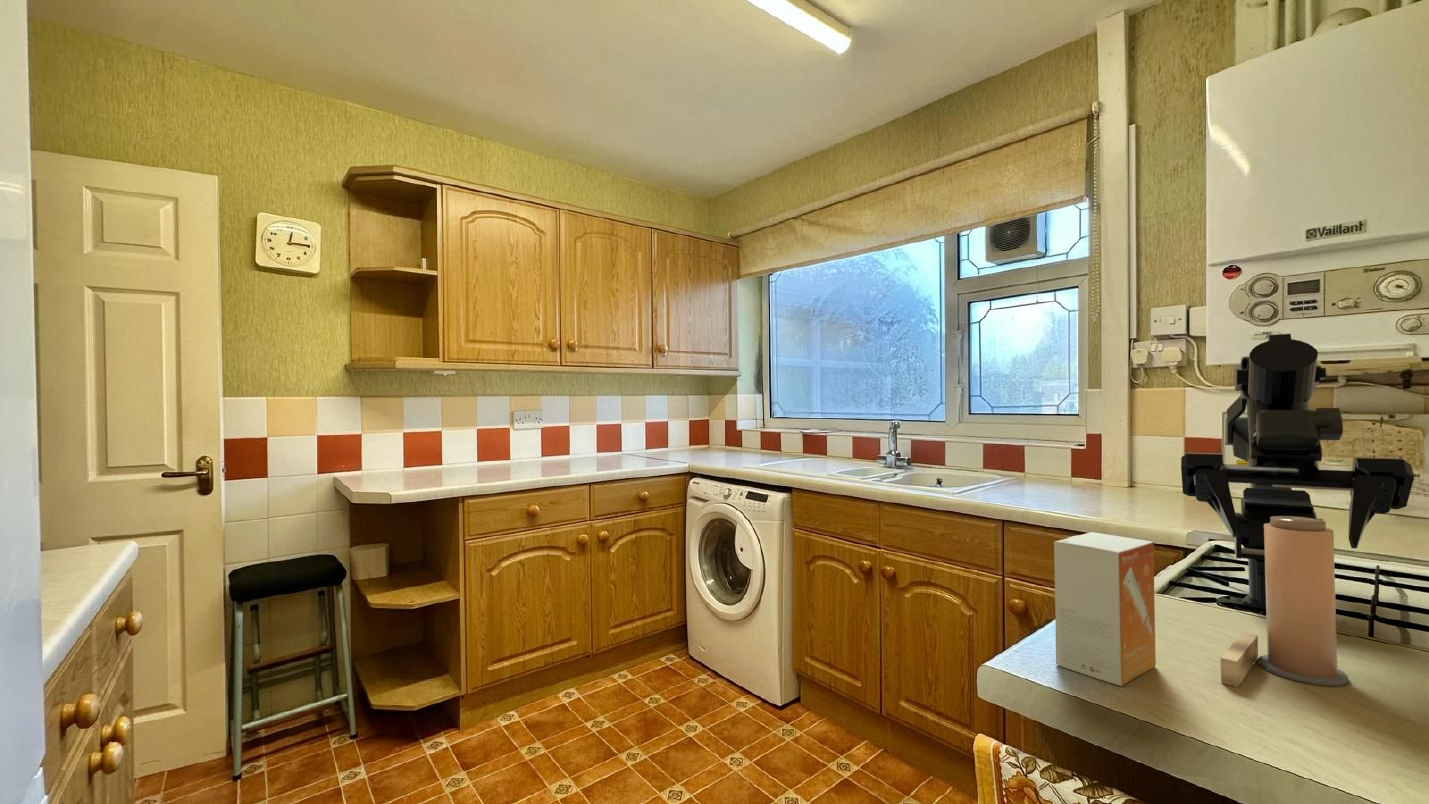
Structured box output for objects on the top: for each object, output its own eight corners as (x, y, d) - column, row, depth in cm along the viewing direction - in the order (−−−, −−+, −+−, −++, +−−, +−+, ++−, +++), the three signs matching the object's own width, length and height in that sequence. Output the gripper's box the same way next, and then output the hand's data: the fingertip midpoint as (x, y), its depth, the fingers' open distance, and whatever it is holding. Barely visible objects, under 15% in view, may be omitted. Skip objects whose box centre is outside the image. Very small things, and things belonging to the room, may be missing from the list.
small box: (1122, 688, 57) (1119, 552, 57) (1054, 665, 62) (1051, 540, 62) (1158, 667, 61) (1155, 540, 61) (1091, 647, 67) (1089, 530, 67)
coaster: (1264, 653, 64) (1264, 649, 64) (1351, 672, 59) (1351, 668, 59) (1252, 670, 60) (1252, 666, 60) (1344, 692, 55) (1344, 688, 55)
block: (1243, 654, 64) (1242, 632, 64) (1258, 658, 63) (1257, 635, 63) (1221, 682, 58) (1220, 657, 58) (1237, 687, 57) (1236, 661, 57)
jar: (1261, 653, 63) (1257, 513, 63) (1327, 662, 61) (1322, 517, 61) (1275, 671, 59) (1271, 521, 59) (1346, 682, 56) (1341, 526, 56)
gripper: (1179, 387, 74) (1178, 487, 65) (1406, 381, 62) (1441, 502, 53) (1183, 446, 80) (1182, 545, 71) (1391, 450, 68) (1420, 569, 59)
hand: (1292, 540), depth 64 cm, fingers open, 9 cm apart
